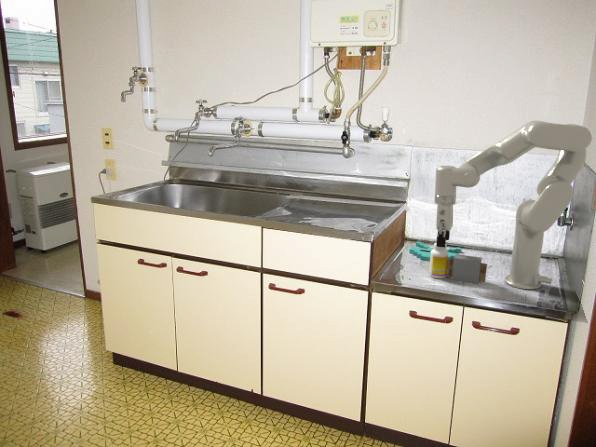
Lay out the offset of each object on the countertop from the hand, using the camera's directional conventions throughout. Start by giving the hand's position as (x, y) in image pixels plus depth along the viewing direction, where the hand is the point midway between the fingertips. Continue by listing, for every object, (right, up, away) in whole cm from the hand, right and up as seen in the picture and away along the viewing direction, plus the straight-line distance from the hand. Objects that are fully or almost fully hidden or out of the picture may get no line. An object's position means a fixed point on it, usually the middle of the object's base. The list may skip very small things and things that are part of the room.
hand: (442, 243), depth 185 cm
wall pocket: (+8, -14, 0) cm, 16 cm away
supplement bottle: (-1, -13, +4) cm, 14 cm away
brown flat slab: (+8, -14, 0) cm, 16 cm away
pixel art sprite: (+5, -7, +29) cm, 30 cm away
